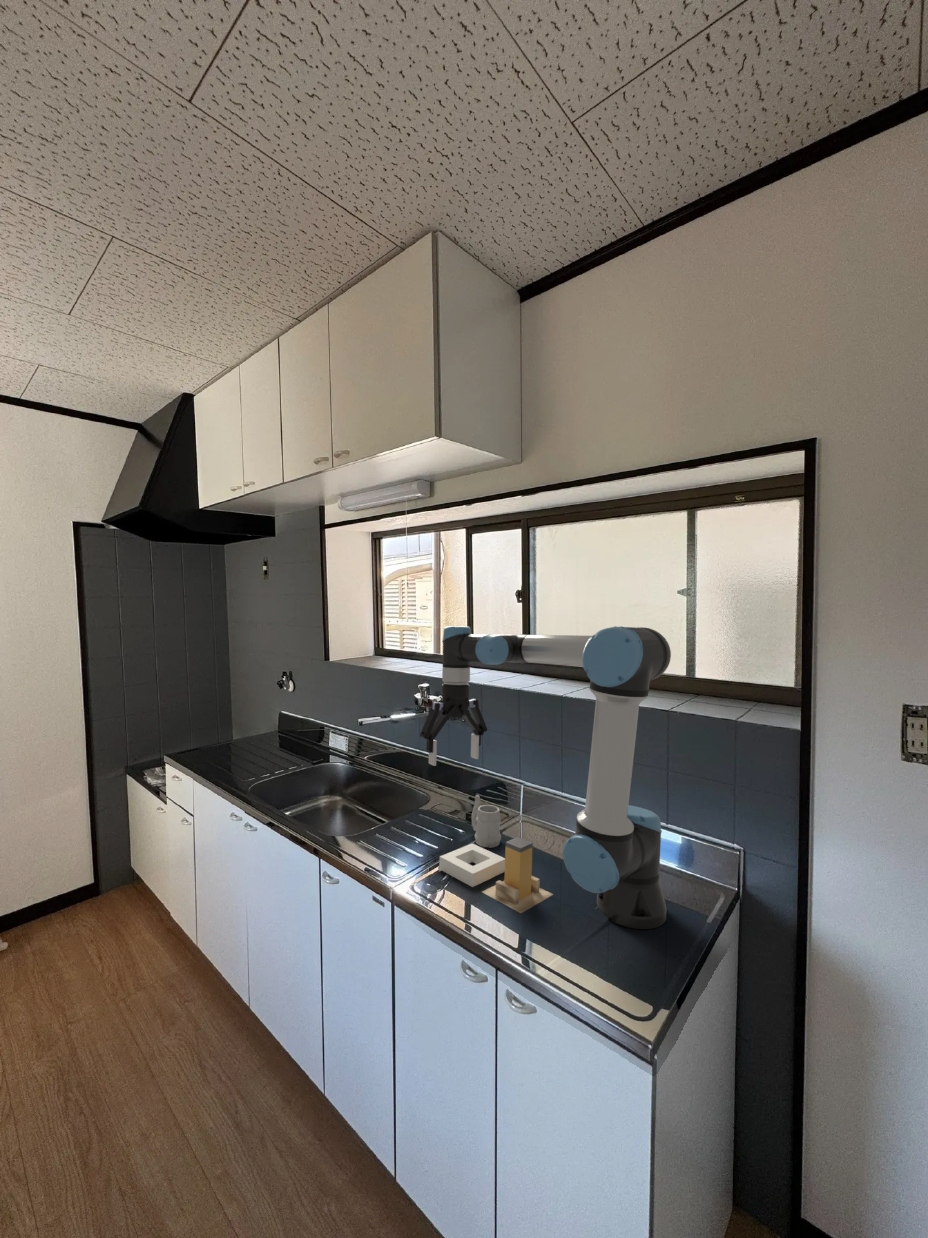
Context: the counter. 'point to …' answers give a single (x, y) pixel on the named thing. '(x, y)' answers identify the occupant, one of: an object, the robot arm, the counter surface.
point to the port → (471, 875)
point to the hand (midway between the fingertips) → (454, 761)
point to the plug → (519, 865)
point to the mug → (486, 824)
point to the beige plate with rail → (517, 895)
